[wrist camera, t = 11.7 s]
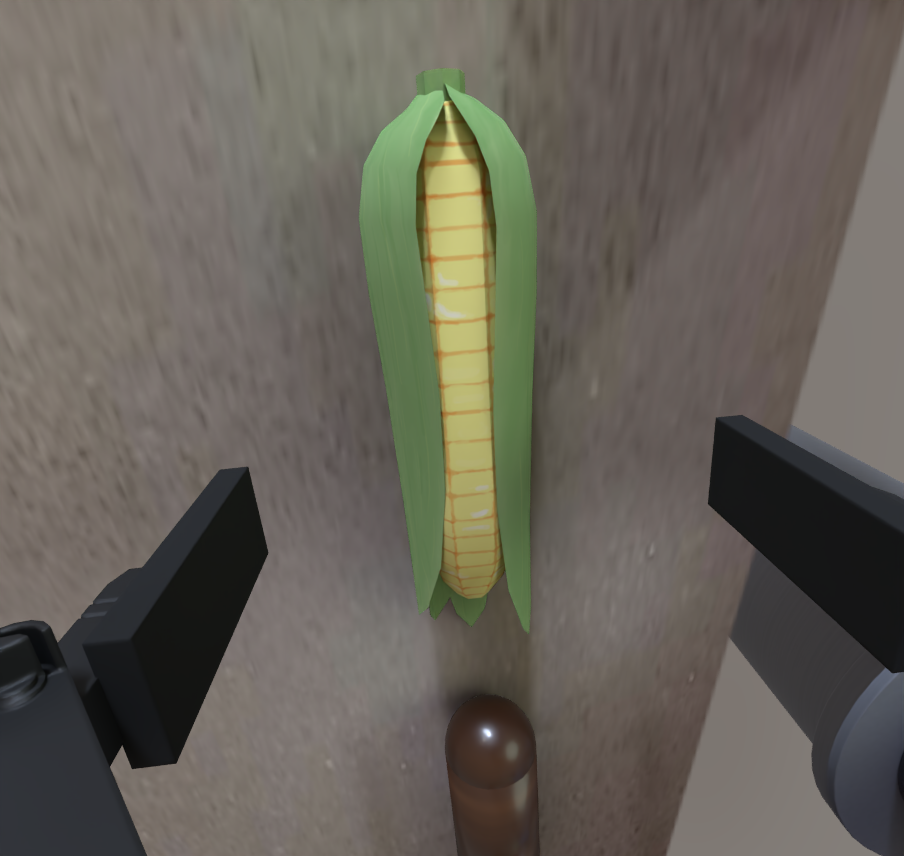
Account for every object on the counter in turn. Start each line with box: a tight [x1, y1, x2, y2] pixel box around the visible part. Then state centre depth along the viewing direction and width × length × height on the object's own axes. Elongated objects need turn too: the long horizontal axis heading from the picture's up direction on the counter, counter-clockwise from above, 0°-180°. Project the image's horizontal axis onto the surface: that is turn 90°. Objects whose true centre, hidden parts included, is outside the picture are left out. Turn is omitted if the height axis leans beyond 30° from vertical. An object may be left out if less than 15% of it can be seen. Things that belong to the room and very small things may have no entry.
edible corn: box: [359, 68, 537, 634], centre depth 18 cm, size 5×20×5 cm, turn 4°
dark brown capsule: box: [445, 694, 540, 856], centre depth 26 cm, size 14×4×4 cm, turn 5°
